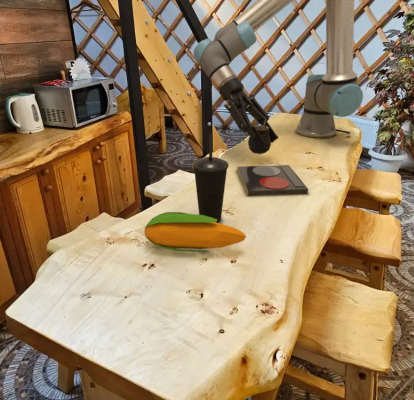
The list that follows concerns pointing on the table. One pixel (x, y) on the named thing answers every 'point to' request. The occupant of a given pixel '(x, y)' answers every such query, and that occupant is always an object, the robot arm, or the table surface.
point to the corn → (190, 232)
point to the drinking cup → (210, 184)
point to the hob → (270, 180)
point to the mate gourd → (265, 135)
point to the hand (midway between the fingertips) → (268, 143)
